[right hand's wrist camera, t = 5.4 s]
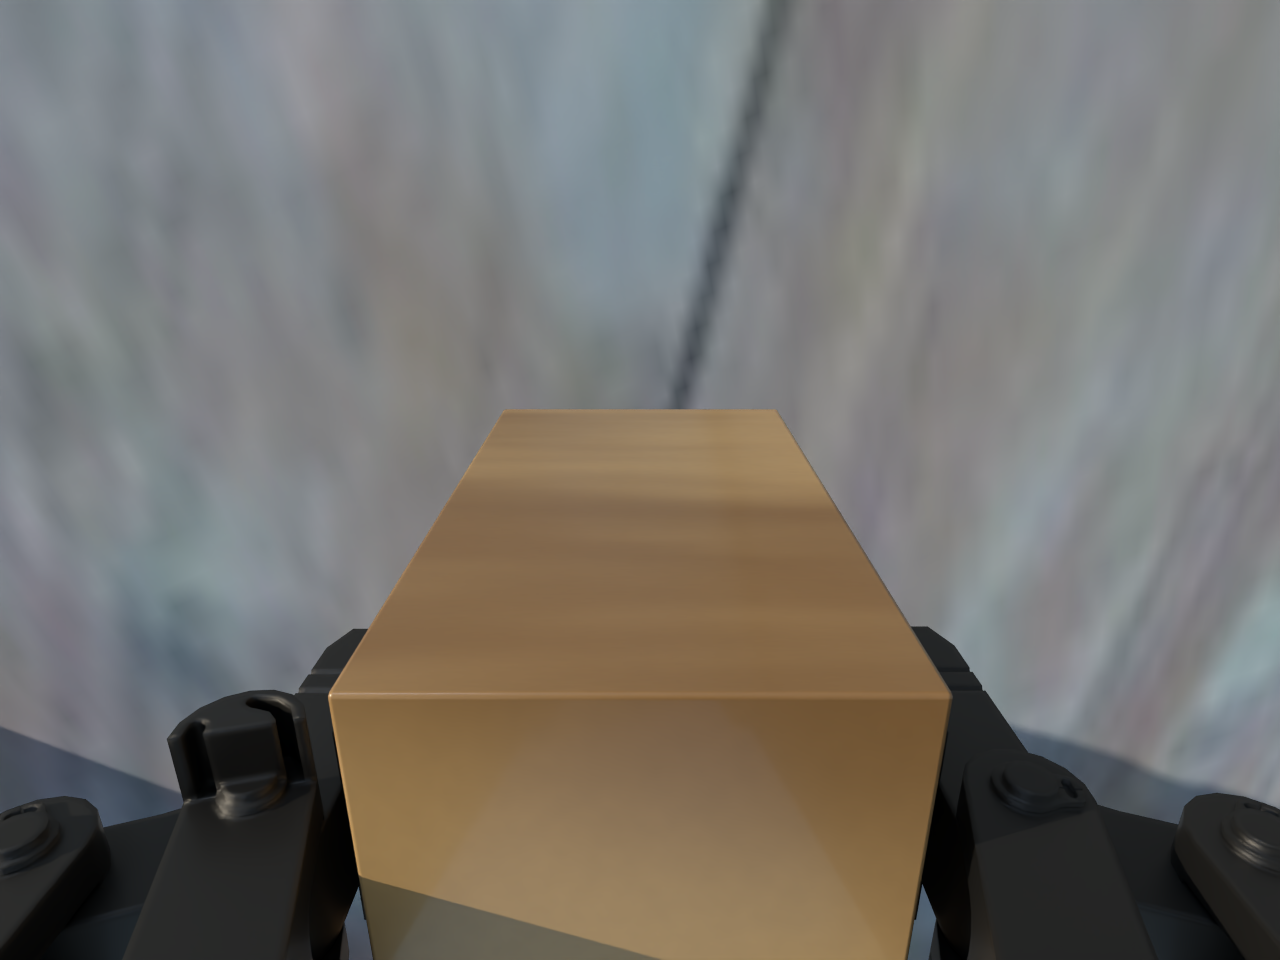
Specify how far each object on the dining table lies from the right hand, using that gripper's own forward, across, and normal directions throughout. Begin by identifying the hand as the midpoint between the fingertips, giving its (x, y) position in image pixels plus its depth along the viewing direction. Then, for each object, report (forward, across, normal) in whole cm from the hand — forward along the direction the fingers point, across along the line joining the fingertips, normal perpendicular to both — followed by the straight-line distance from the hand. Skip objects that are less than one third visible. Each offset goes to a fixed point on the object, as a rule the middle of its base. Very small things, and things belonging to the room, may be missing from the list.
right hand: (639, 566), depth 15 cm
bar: (+1, 0, -9) cm, 9 cm away
